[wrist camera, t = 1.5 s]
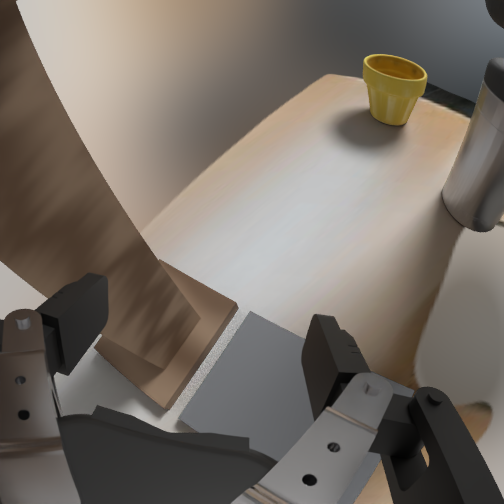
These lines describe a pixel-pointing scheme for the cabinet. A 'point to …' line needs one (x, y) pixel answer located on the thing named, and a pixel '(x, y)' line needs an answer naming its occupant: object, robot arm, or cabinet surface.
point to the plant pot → (392, 87)
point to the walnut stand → (91, 233)
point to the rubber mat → (265, 396)
